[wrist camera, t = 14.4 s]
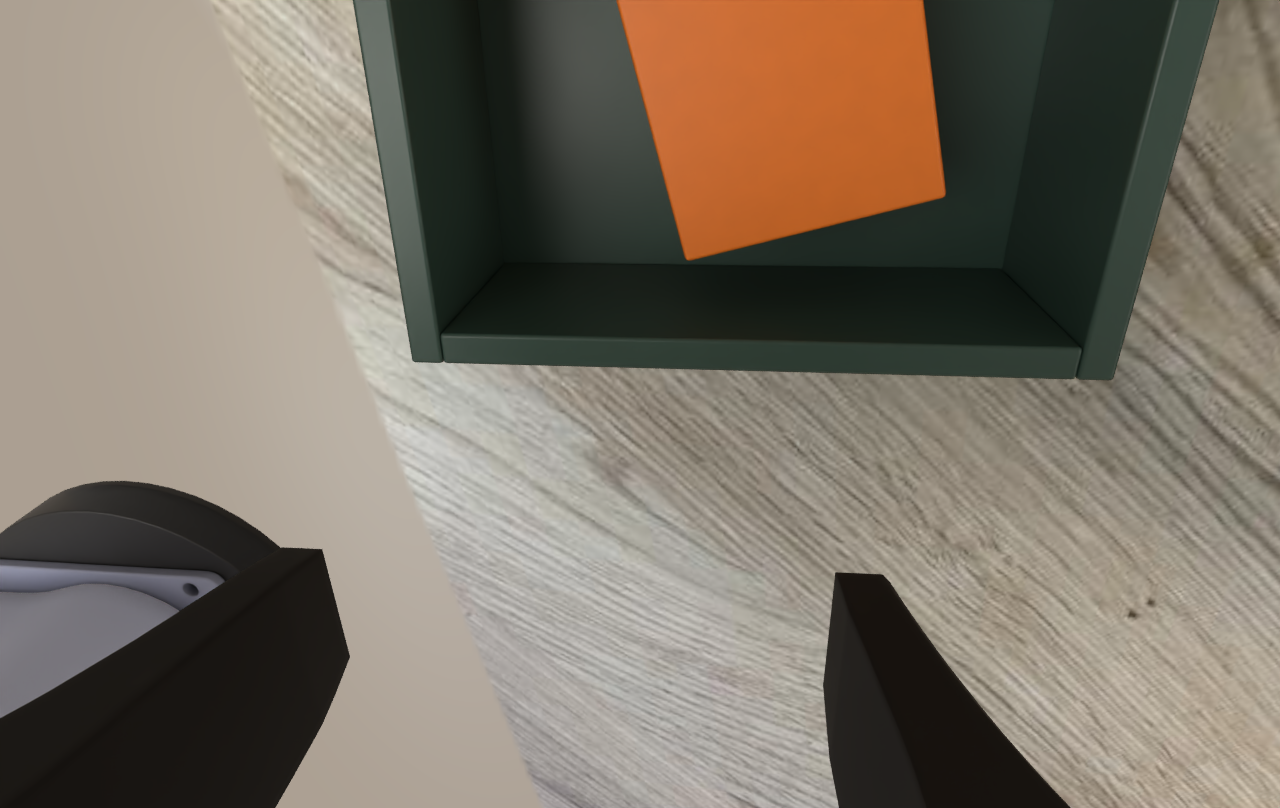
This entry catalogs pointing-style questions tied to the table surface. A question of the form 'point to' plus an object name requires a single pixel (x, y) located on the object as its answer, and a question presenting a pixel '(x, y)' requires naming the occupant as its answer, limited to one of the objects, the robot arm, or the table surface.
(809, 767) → the table surface
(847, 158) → the orange rectangular block
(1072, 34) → the bin
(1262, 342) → the table surface
